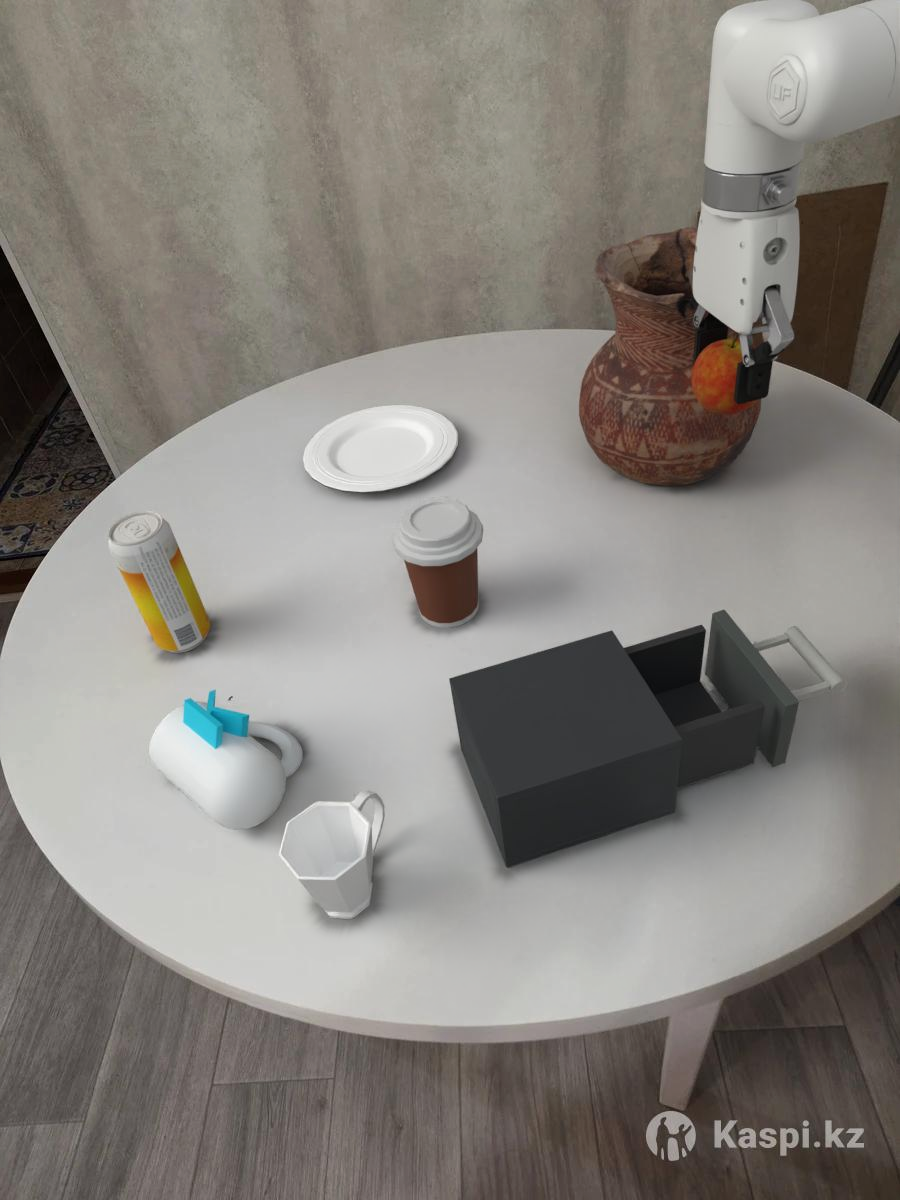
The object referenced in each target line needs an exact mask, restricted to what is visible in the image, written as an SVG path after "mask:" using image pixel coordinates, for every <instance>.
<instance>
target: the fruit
mask: <svg viewBox="0 0 900 1200" xmlns="http://www.w3.org/2000/svg"><path fill="white" fill-rule="evenodd" d="M737 337H738V339H737ZM757 346H758V345H756V344H754V343H753V347H754V349H755V348H756V347H757ZM739 362H743V358H742V351H741V344H740V338H739V333H738V332H736V333H735V337H734V339H725V340H720V341H716V342H713V343H711V344H710V345H708V346H707V347H706V348H705V349H704V350H703V351H702V352H701V353H700V354H699V356H698V358H697V359H696V361H695V364H694V367H693V370H692V376H691V383H692V389H693V392H694V395H695V397H696V398H697V400H698V401H699V402H700V404H701V405H702V407H704V408H705V409H706V410H708V411H710V412H713V413H717V414H723V415H733V414H737V413H740V412H742V411H744V410H746V409H748V408H749V407H751V406H752V405H754V404H755V403H756V402H757V401H758V400H759V399H758V400H755V401H751V402H747V403H743V404H737V403H736V402H735V401H734V392H735V383H736V374H737V366H738V363H739Z"/></svg>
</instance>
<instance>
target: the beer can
mask: <svg viewBox="0 0 900 1200" xmlns="http://www.w3.org/2000/svg"><path fill="white" fill-rule="evenodd" d="M107 537H108V542H107V543H108V544H107V548H108V549H109V551H110V554H111V556H112V557H113V559H114V562H115V564H116V567H117V568H118V570H119V572H120V574H121V576H122V578H123V581H124V582H125V585H126V586H127V588H128V590H129V592H130V595H131V596H132V598H133V601H134V602H135V603H134V604H135V605H136V607H137V609H138V611H139V613H140V614H141V617H142V619H143V621H144V623H145V625H146V627H147V629H148V631H149V633H150V635H151V637H152V639H153V641H154V644H155V645H156V646H157V648H159V649H161V650H164V651H167V652H169V653H173V654H181V653H185V652H189V651H192V650H194V649H196V648H197V647H199V646H200V645H201V644H202V643H203V642H204V641H205V639H206V638H207V636H208V633H209V632H210V629H211V620H210V618H209V616H208V613H207V611H206V609H205V606H204V603H203V602H202V599H201V597H200V594H199V591H198V590H197V586H196V584H195V582H194V580H193V577H192V575H191V573H190V570H189V568H188V565H187V564H186V563H187V562H186V560H185V558H184V556H183V554H182V551H181V549H180V547H179V544H178V542H177V539H176V537H175V534H174V532H173V529H172V527H171V525H170V523H169V522H168V521H167V520H166V519H164V518H163V517H162V515H161V514H160V513H158V512H156V511H153V510H139V511H134V512H131V513H128V514H125V515H124V516H122V517H120V518H118V519H117V520H116V521H114V522H113V524H112V525H111V526H110V527H109V529H108V531H107Z"/></svg>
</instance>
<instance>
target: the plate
mask: <svg viewBox="0 0 900 1200" xmlns="http://www.w3.org/2000/svg"><path fill="white" fill-rule="evenodd" d="M458 447H459V433H458V430H457V428H456V426H455V424H454V423H453V422H452V421H450V420H449V419H448V417H446V416H445V415H444V414H441V413H439V412H436V411H435V410H432V409H431V408H426V407H420V406H417V405H407V404H406V405H405V404H391V405H390V404H389V405H382V406H381V405H379V406H373V407H369V408H364V409H360V410H357V411H354V412H351V413H348V414H346V415H343V416H340V417H339V418H337V419H335V420H333V421H332V422H329V423H328V424H326V425H325V426H324V427H322V428H321V429H320V430H318V431H317V433H315V434H314V435H313V436H312V438H311V439H310V440H309V442H308V443H307V445H306V446H305V448H304V451H303V456H302V461H303V466H304V469H305V471H306V472H307V474H308V475H309V476H310V478H311V479H312V480H314V481H315V482H317V483H318V484H321V485H322V486H324V487H326V488H328V489H332V490H336V491H339V492H343V493H355V494H373V493H384V492H385V493H386V492H389V491H390V492H391V491H394V490H397V489H402V488H406V487H409V486H411V485H414V484H416V483H418V482H421V481H424V480H426V479H427V478H429V477H431V476H432V475H434V474H435V473H437V472H438V471H440V470H441V469H443V467H445V465H447V463H448V462H450V460H452V458H453V457H454V454H455V453H456V451H457V449H458Z"/></svg>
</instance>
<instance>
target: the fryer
mask: <svg viewBox="0 0 900 1200" xmlns="http://www.w3.org/2000/svg"><path fill="white" fill-rule="evenodd" d="M624 648H625V647H624V646H623V645H622V643H621V642H620V640H619V638H618V637H617V635H616V634H615V632H614V631H613V629H611V630H609V631H605V632H601V633H598V634H595V635H591V636H587V637H583V638H581V639H578V640H574V641H571V642H568V643H564V644H561V645H557V646H554V647H551V648H547V649H543V650H541V651H537V652H533V653H531V654H527V655H524V656H520V657H517V658H515V659H510V660H506V661H504V662H503V661H502V662H500V663H496V664H494V665H493V664H492V665H490V666H487V667H483V668H480V669H477V670H472V671H470V672H466V673H463V674H460V675H456V676H453V677H449V679H448V681H449V685H450V686H449V687H450V692H451V699H452V704H453V709H454V715H455V721H456V722H455V723H456V727H457V734H458V740H459V744H460V750H461V753H462V757H463V758H464V761H465V763H466V766H467V768H468V771H469V774H470V777H471V779H472V781H473V784H474V786H475V789H476V792H477V795H478V797H479V800H480V802H481V805H482V808H483V810H484V813H485V815H486V818H487V821H488V823H489V826H490V829H491V831H492V833H493V837H494V839H495V842H496V844H497V846H498V849H499V851H500V854H501V858H502V859H503V863H504V865H505V867H506V868H511V867H514V866H517V865H519V864H523V863H526V862H528V861H529V862H530V861H531V860H534V859H537V858H541V857H543V856H546V855H550V854H552V853H553V854H554V853H555V852H559V851H562V850H565V849H568V848H571V847H574V846H578V845H580V844H583V843H585V842H590V841H592V840H595V839H598V838H602V837H604V836H607V835H611V834H614V833H616V832H619V831H624V830H626V829H629V828H632V827H634V826H638V825H641V824H643V823H646V822H650V821H653V820H656V819H658V818H659V819H660V818H661V817H665V816H668V815H671V814H674V813H675V812H676V806H677V805H676V804H677V794H678V788H677V785H678V776H679V766H680V756H681V747H682V738H681V737H680V735H679V733H678V732H677V730H676V729H675V727H674V726H673V724H672V723H671V721H670V719H669V718H668V716H667V715H666V713H665V712H664V710H663V708H662V707H661V705H660V704H659V702H658V701H657V699H656V698H655V696H654V694H653V693H652V691H651V690H650V688H649V687H648V685H647V684H646V682H645V680H644V679H643V677H642V676H641V674H640V673H639V671H638V670H637V668H636V666H635V665H634V663H633V662H632V660H631V659H630V657H629V656H628V654H627V652H626V651H625V649H624Z"/></svg>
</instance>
